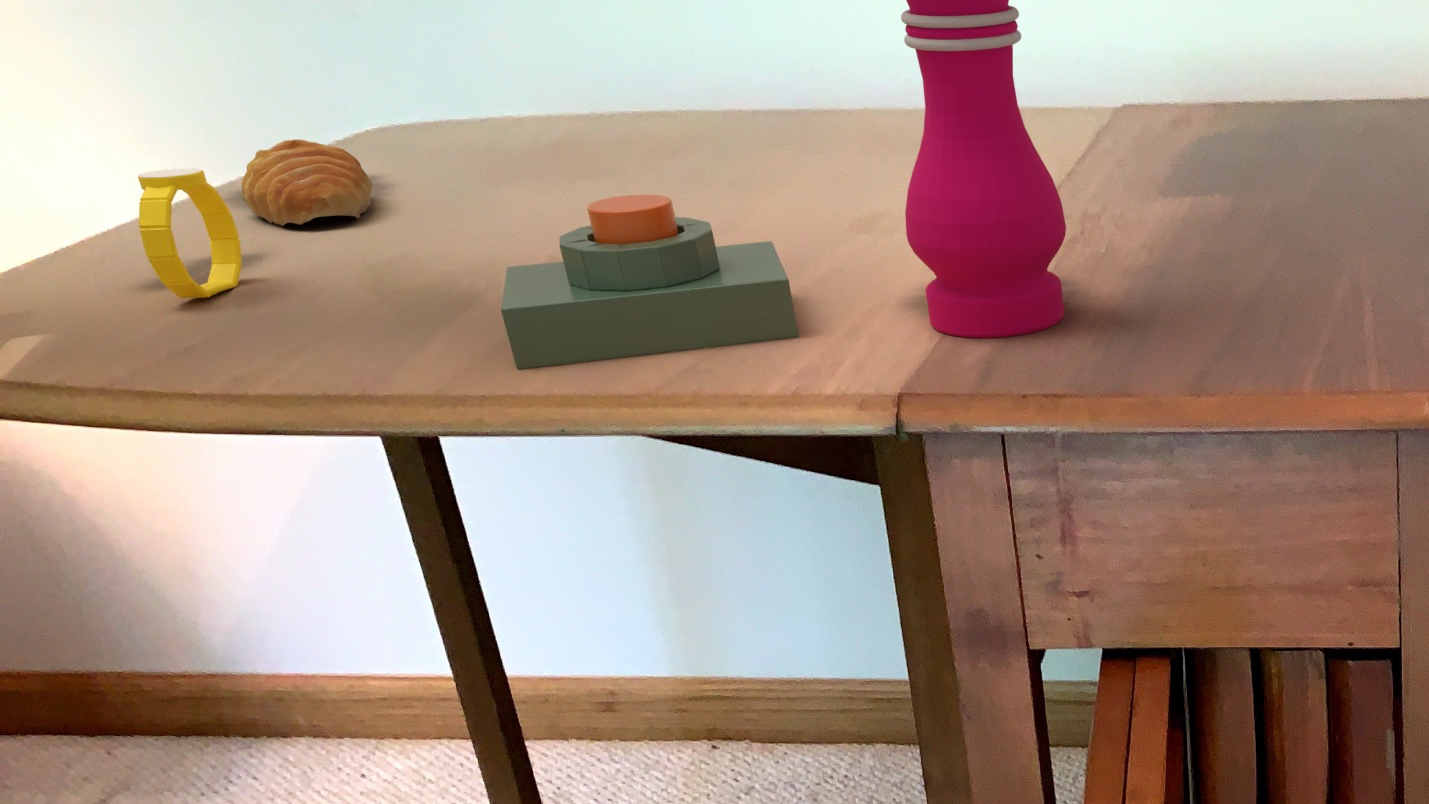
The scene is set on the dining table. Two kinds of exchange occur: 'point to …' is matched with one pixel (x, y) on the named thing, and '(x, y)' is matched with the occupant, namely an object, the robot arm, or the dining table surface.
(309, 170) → the pastry
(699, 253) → the control box
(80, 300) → the dining table surface
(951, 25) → the pepper mill
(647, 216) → the button
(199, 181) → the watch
